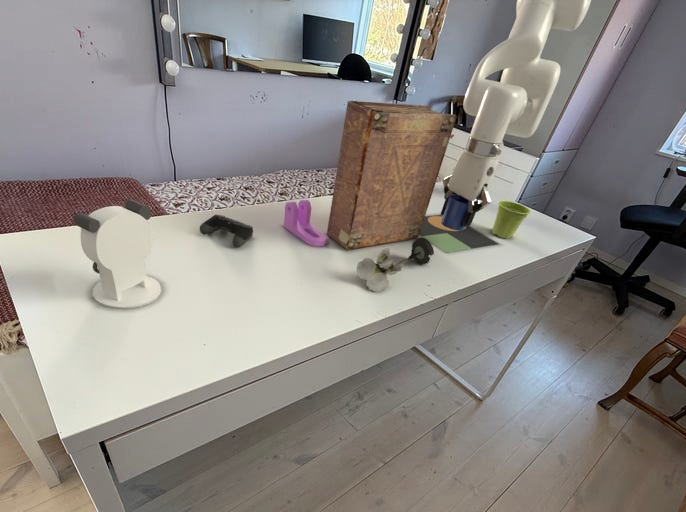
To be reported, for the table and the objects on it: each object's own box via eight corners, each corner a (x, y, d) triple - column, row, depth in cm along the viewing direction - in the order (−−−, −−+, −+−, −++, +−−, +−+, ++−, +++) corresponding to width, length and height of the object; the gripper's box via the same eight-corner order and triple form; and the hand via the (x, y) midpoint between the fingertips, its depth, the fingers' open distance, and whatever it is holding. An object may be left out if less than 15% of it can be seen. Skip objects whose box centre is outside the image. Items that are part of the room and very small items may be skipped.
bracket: (283, 226, 103) (285, 199, 98) (300, 223, 106) (303, 197, 101) (313, 247, 96) (317, 220, 91) (330, 243, 99) (335, 216, 94)
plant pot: (512, 231, 125) (525, 204, 119) (520, 243, 118) (535, 215, 112) (483, 226, 124) (495, 198, 119) (490, 238, 117) (503, 209, 112)
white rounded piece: (134, 267, 78) (119, 190, 68) (176, 288, 74) (168, 210, 65) (78, 291, 69) (52, 207, 60) (123, 316, 66) (104, 231, 56)
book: (396, 224, 115) (429, 105, 95) (418, 238, 109) (458, 115, 90) (326, 235, 102) (347, 100, 83) (346, 250, 97) (374, 110, 77)
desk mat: (396, 219, 118) (396, 219, 118) (447, 214, 128) (447, 214, 128) (446, 252, 105) (446, 252, 105) (499, 244, 115) (499, 244, 115)
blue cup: (435, 220, 107) (444, 194, 103) (453, 219, 110) (462, 193, 106) (453, 231, 103) (463, 204, 98) (470, 229, 106) (481, 203, 102)
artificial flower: (433, 275, 97) (453, 244, 88) (366, 306, 87) (382, 275, 78) (410, 251, 100) (427, 219, 91) (342, 278, 89) (355, 245, 81)
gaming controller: (196, 233, 92) (198, 211, 90) (216, 230, 98) (219, 210, 96) (238, 249, 89) (241, 227, 86) (256, 246, 95) (259, 225, 93)
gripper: (520, 159, 91) (488, 232, 102) (466, 138, 101) (442, 207, 113) (499, 159, 87) (468, 235, 99) (446, 137, 98) (423, 208, 109)
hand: (455, 219), depth 106 cm, fingers closed on blue cup, 7 cm apart
